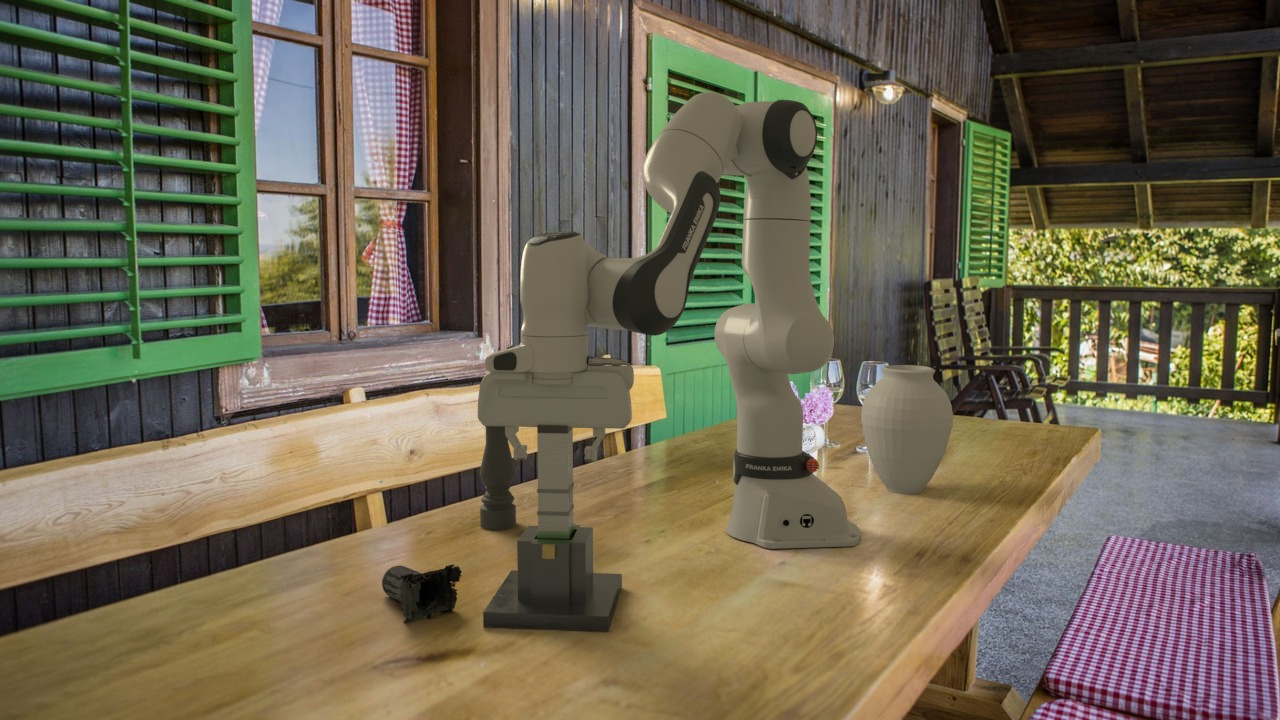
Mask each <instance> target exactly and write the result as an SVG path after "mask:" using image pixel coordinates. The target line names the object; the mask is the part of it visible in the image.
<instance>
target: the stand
mask: <svg viewBox="0 0 1280 720" xmlns="http://www.w3.org/2000/svg"><path fill="white" fill-rule="evenodd" d="M574 530H575V532H574V533H573V538H572V540H547V539H537V531H538V525H527V527H526V528H525V530H524V531H523V533H522V534H521V535H520V536H519V538H518V539H517V541H516V543H517V544H516V548H517V550H516V554H517V557H516V558H517V561H516V562H517V570H513V569H512V570H510V572H509V573H508V575H507V576H506V578H505V579H504V581H503V582H502V583H501V585H500V586H499V588H498V589H497V591H496V592H495V594H494V595H493V596H492V598H491V600H490V601H489V602H488V604H487V606H486V607H485V608H484V610H483V612H482V615H483V616H482V620H483V621H482V622H483V623H482V625H483V626H482V627H483V628H492V629H493V628H497V629H498V628H499V629H518V630H519V629H524V630H525V629H526V630H546V631H547V630H550V631H573V632H574V631H576V632H577V631H578V632H581V631H582V632H598V633H599V632H601V633H602V632H603V633H604V632H605V633H608V632H609V631H610V627H611V623H612V621H613V618H614V614H615V611H616V607H617V605H618V601H619V598H620V594H621V592H622V588H623V574H622V573H609V572H608V573H605V572H604V573H603V572H602V573H601V572H599V573H598V572H594V527H587V526H586V527H585V526H584V527H583V526H581V524H574Z"/></svg>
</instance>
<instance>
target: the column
mask: <svg viewBox="0 0 1280 720" xmlns="http://www.w3.org/2000/svg"><path fill="white" fill-rule="evenodd" d="M536 428H537V429H536V430H537V431H536V432H537V434H536V435H537V446H536V447H537V489H536V493H537V512H536V515H537V520H538V522H537V526H538V531H537V539H547V540H572V538H573V533H574V532H575V530H574V525H575V522H574V508H575V504H574V487H575V485H574V484H575V482H574V458H573V457H574V450H573V449H574V447H573V446H574V440H573V439H574V438H573V436H574V435H573V433H574V432H573V431H574V430H573V429H574V428H568V426H560V425H537V427H536Z"/></svg>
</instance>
